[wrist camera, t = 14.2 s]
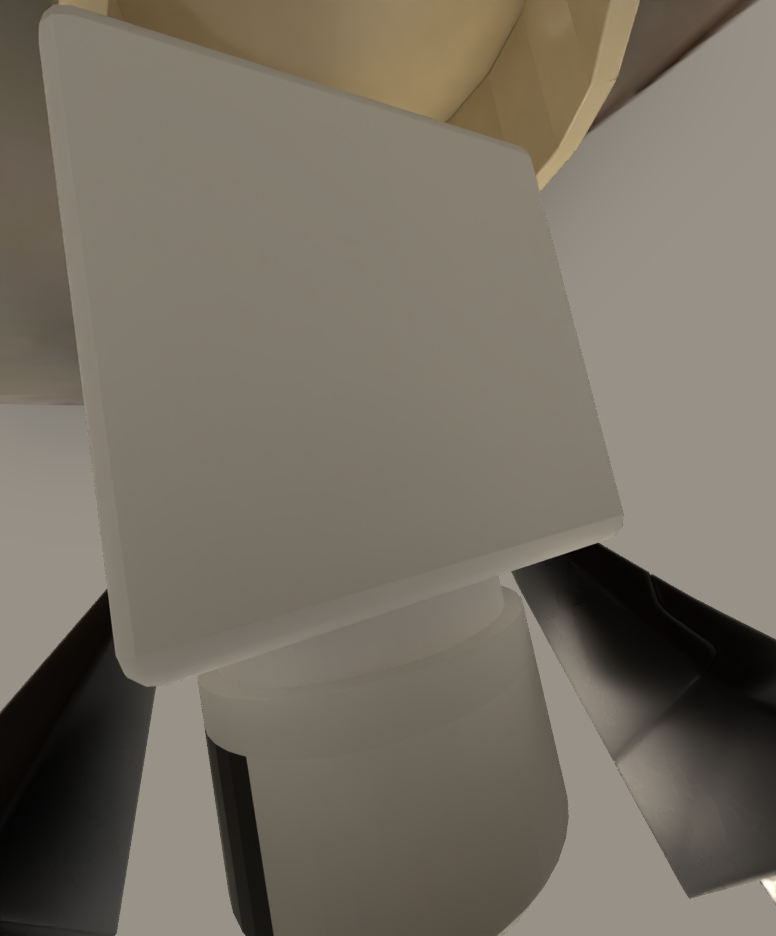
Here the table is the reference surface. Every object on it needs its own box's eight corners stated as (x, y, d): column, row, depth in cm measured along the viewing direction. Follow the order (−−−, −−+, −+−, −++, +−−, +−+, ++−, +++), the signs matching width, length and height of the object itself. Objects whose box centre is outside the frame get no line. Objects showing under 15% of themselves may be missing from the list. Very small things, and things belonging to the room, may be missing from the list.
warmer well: (-43, -1986, 2) (54, -1574, 2) (670, -124, 9) (725, 49, 9) (40, 76, 11) (59, 234, 10) (377, 212, 18) (397, 309, 17)
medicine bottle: (375, 330, 14) (451, 701, 12) (123, 323, 10) (193, 826, 9) (535, 139, 7) (724, 857, 6) (23, -31, 4) (204, 1439, 3)
